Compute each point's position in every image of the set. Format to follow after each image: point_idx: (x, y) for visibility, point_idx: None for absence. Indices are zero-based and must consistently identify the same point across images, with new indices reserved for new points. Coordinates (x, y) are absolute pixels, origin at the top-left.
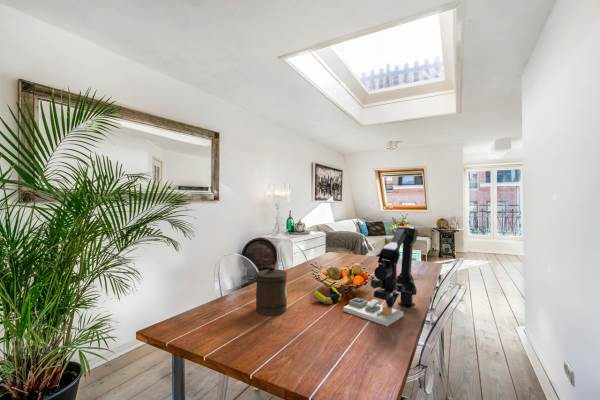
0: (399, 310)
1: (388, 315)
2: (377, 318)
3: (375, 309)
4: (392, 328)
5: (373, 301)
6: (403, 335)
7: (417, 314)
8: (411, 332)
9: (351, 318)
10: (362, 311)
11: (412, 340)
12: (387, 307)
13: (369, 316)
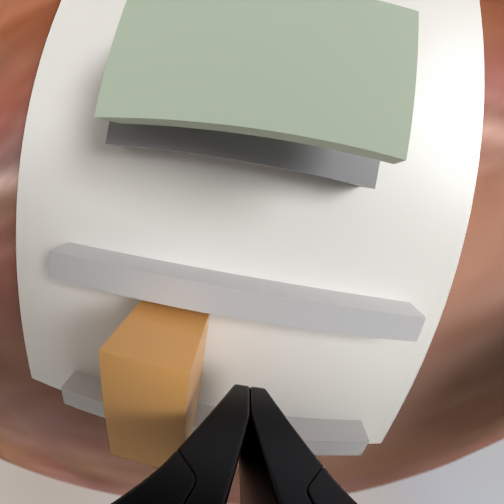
0: (333, 454)
1: (85, 397)
2: (18, 276)
3: (198, 155)
4: (56, 393)
5: (293, 47)
6: (41, 446)
7: (439, 454)
8: (107, 480)
9: (18, 26)
10: (87, 29)
11: (40, 472)
12: (130, 427)
13: (25, 166)
